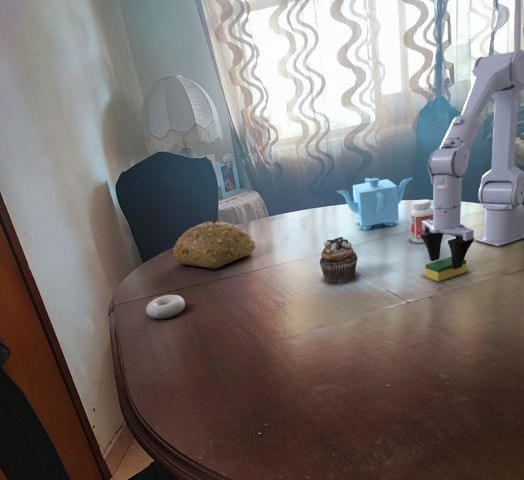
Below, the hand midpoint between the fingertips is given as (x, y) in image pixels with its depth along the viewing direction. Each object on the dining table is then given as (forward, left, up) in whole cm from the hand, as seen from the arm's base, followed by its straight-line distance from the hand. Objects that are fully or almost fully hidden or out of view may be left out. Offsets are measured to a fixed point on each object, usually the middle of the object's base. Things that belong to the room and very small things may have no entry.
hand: (445, 264), depth 109 cm
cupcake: (+19, -17, -3) cm, 26 cm away
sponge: (0, 0, -3) cm, 3 cm away
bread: (+40, -62, -3) cm, 74 cm away
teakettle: (-15, -52, -3) cm, 54 cm away
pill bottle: (-13, -25, -3) cm, 28 cm away
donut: (+63, -29, -3) cm, 69 cm away
